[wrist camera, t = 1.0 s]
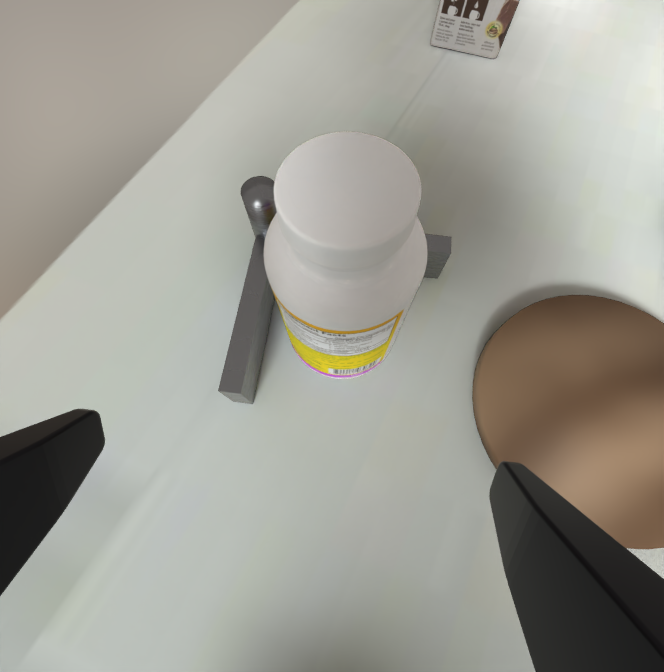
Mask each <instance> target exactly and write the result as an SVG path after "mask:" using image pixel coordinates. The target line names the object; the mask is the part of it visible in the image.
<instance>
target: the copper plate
mask: <svg viewBox="0 0 664 672" xmlns="http://www.w3.org/2000/svg"><path fill="white" fill-rule="evenodd" d="M472 398H473V409H474V416H475V420H476V425H477V429H478V432H479V435H480V437H481V440H482V443H483V446H484V448H485V450H486V452H487V454H488V456H489V458H490V460H491V462H492V463H493V465H494V466H495V468H496V469H497V467H498V465H499V464H500V462H502V461H509V462H517V463H521V464H523V465H524V466H526V467H527V468H528V469H529V470H530V471H532V472H533V473H534V474H535V475H537V476H538V477H539V478H540V479H541V480H543V481H544V482H545V483H546V484H548V485H549V486H550V487H551V488H553V489H554V490H555V491H556V492H557V493H559V494H560V495H561V496H562V497H564V498H565V499H566V500H567V501H568V502H570V503H571V504H572V505H573V506H575V507H576V508H577V509H578V510H580V511H581V512H582V513H583V514H584V515H586V516H587V517H588V518H589V519H591V520H592V521H593V522H594V523H595V524H597V525H598V526H599V527H600V528H602V529H603V530H604V531H605V532H606V533H608V534H609V535H610V536H611V537H613V538H614V539H615V540H616V541H618V542H619V543H620V544H621V545H622V546H624V547H625V548H632V549H654V548H664V323H663V322H661V321H659V320H658V319H656V318H654V317H653V316H651V315H649V314H647V313H645V312H643V311H641V310H639V309H637V308H635V307H632V306H630V305H627V304H624V303H622V302H619V301H615V300H611V299H607V298H603V297H596V296H589V295H567V296H558V297H553V298H549V299H545V300H542V301H539V302H537V303H534V304H532V305H530V306H528V307H526V308H524V309H522V310H521V311H519V312H518V313H517V314H515V315H514V316H513V317H511V318H510V319H509V320H508V321H507V322H505V323H504V324H503V325H502V326H501V327H500V328H499V329H498V330H497V331H496V332H495V333H494V334H493V335H492V337H491V338H490V340H489V341H488V342H487V344H486V345H485V347H484V349H483V351H482V353H481V355H480V357H479V360H478V363H477V366H476V369H475V375H474V380H473V397H472Z"/></svg>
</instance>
